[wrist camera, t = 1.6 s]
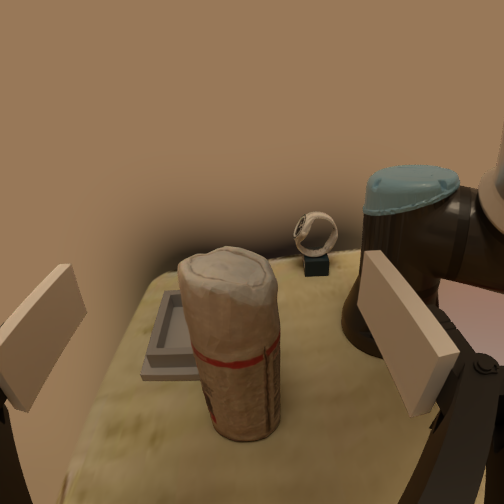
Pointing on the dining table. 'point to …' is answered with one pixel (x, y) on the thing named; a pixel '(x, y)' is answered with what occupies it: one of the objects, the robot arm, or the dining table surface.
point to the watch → (314, 256)
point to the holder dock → (170, 344)
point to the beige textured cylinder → (234, 338)
